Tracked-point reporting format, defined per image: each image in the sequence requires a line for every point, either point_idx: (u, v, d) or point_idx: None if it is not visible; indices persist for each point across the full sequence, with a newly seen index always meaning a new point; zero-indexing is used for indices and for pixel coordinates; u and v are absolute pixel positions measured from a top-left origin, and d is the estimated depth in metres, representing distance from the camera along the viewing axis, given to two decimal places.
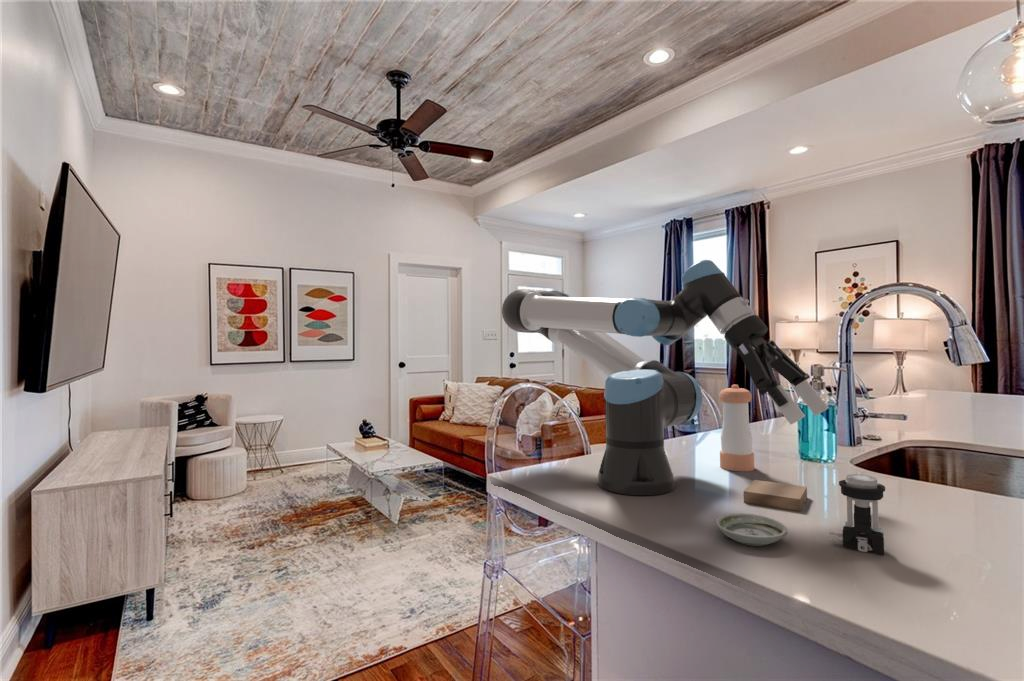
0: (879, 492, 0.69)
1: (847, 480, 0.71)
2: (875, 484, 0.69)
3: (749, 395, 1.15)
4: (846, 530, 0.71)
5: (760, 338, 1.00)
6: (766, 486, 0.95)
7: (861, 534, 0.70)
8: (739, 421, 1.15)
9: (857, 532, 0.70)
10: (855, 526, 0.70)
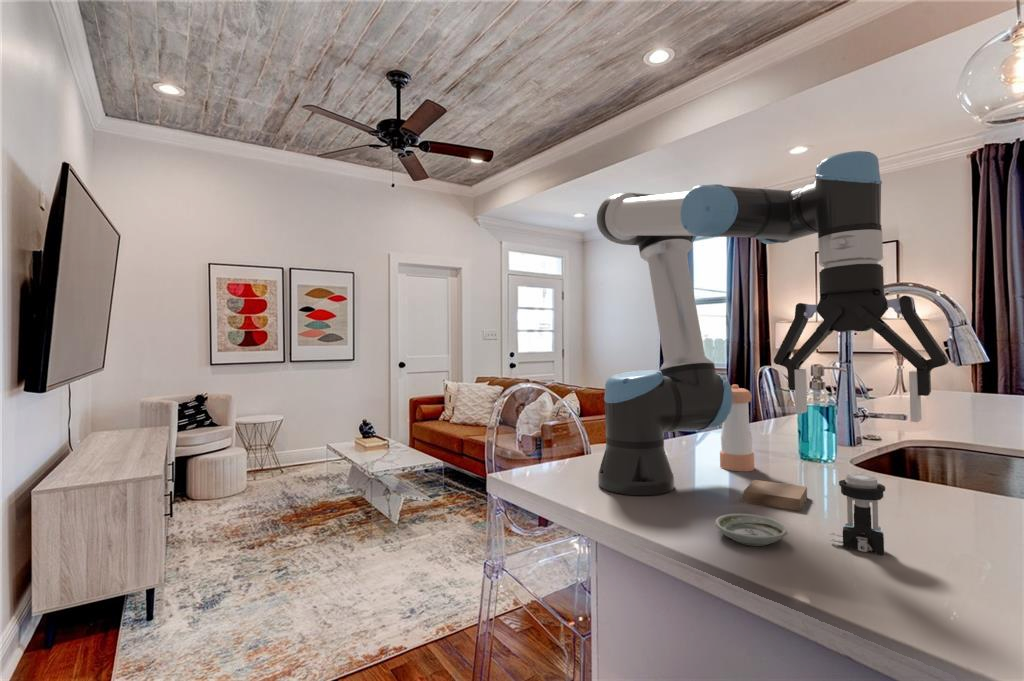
0: (879, 492, 0.69)
1: (847, 480, 0.71)
2: (875, 484, 0.69)
3: (749, 395, 1.15)
4: (846, 530, 0.71)
5: (862, 294, 0.70)
6: (766, 486, 0.95)
7: (861, 534, 0.70)
8: (739, 421, 1.15)
9: (857, 532, 0.70)
10: (855, 526, 0.70)
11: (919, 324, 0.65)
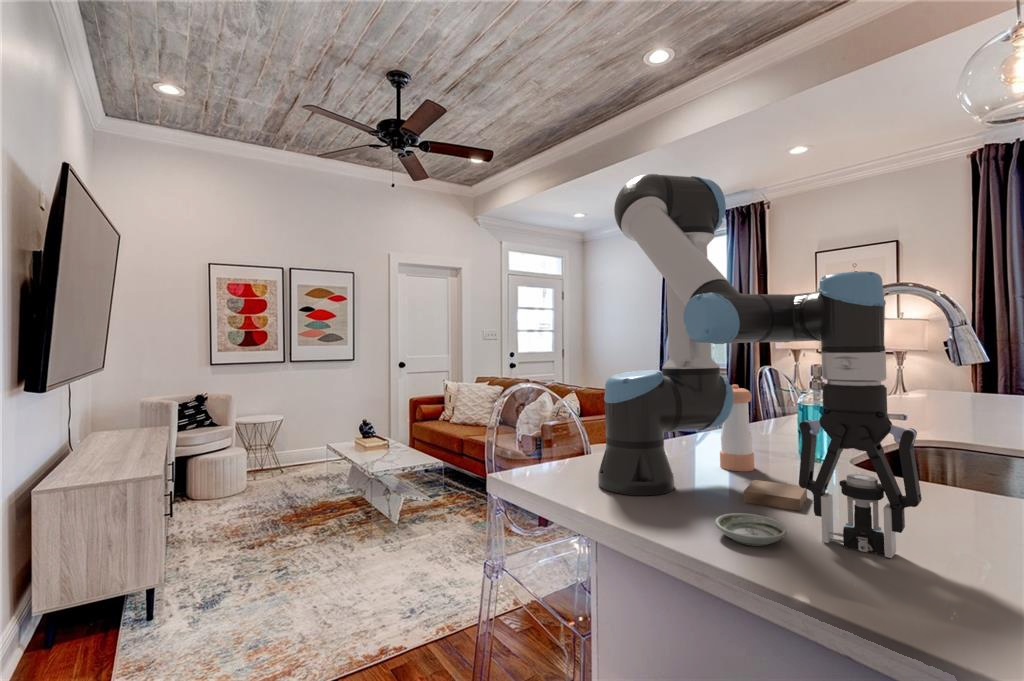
0: (879, 492, 0.69)
1: (847, 480, 0.71)
2: (876, 484, 0.69)
3: (749, 395, 1.15)
4: (846, 530, 0.71)
5: (865, 414, 0.69)
6: (766, 486, 0.95)
7: (861, 534, 0.70)
8: (739, 421, 1.15)
9: (857, 532, 0.70)
10: (856, 526, 0.70)
11: (910, 462, 0.66)
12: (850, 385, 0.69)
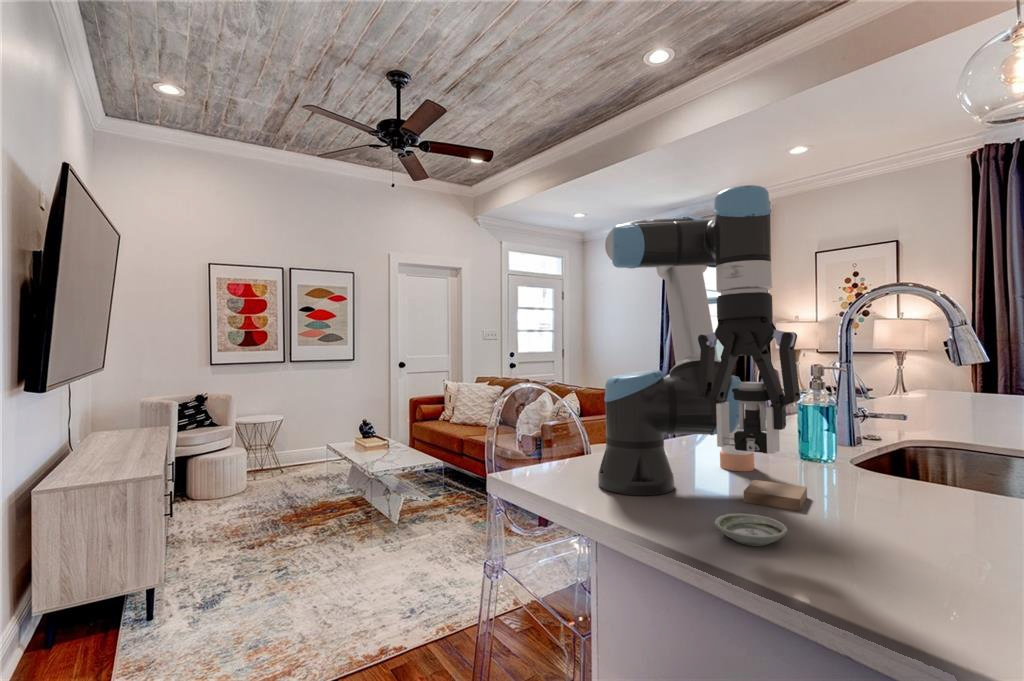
0: (764, 393, 0.72)
1: (738, 386, 0.75)
2: (762, 387, 0.73)
3: None
4: (737, 433, 0.75)
5: (752, 321, 0.73)
6: (766, 486, 0.95)
7: (750, 435, 0.74)
8: None
9: (746, 433, 0.74)
10: (745, 428, 0.74)
11: (788, 362, 0.70)
12: (737, 292, 0.73)
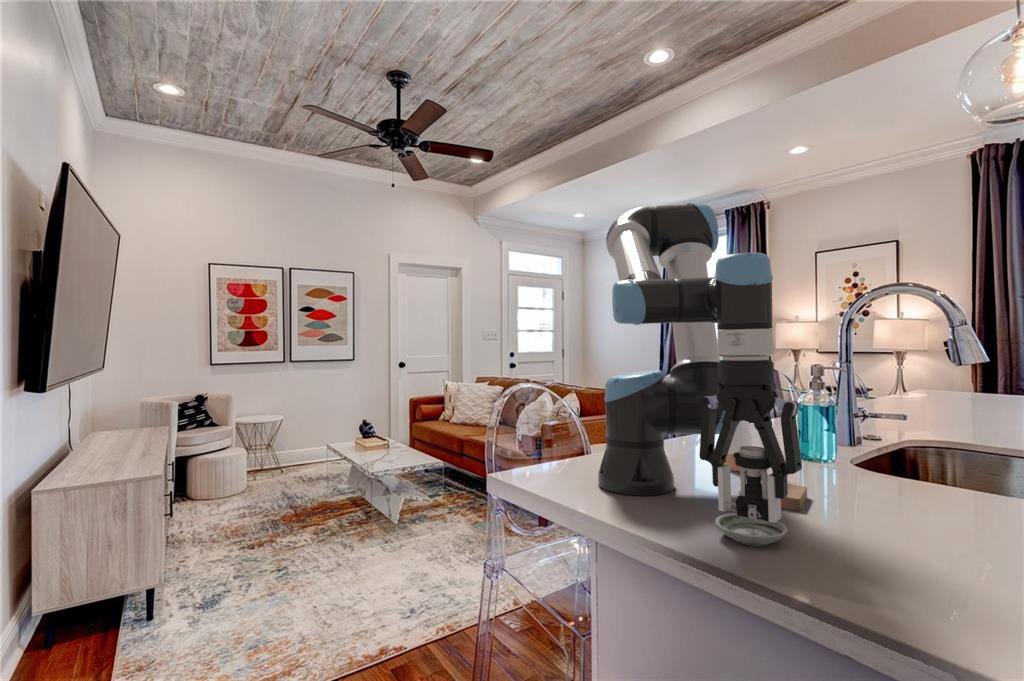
0: (766, 461, 0.72)
1: (740, 451, 0.75)
2: (764, 454, 0.73)
3: None
4: (738, 499, 0.75)
5: (754, 388, 0.73)
6: None
7: (751, 502, 0.74)
8: None
9: (748, 500, 0.74)
10: (746, 494, 0.74)
11: (790, 432, 0.70)
12: (738, 360, 0.73)
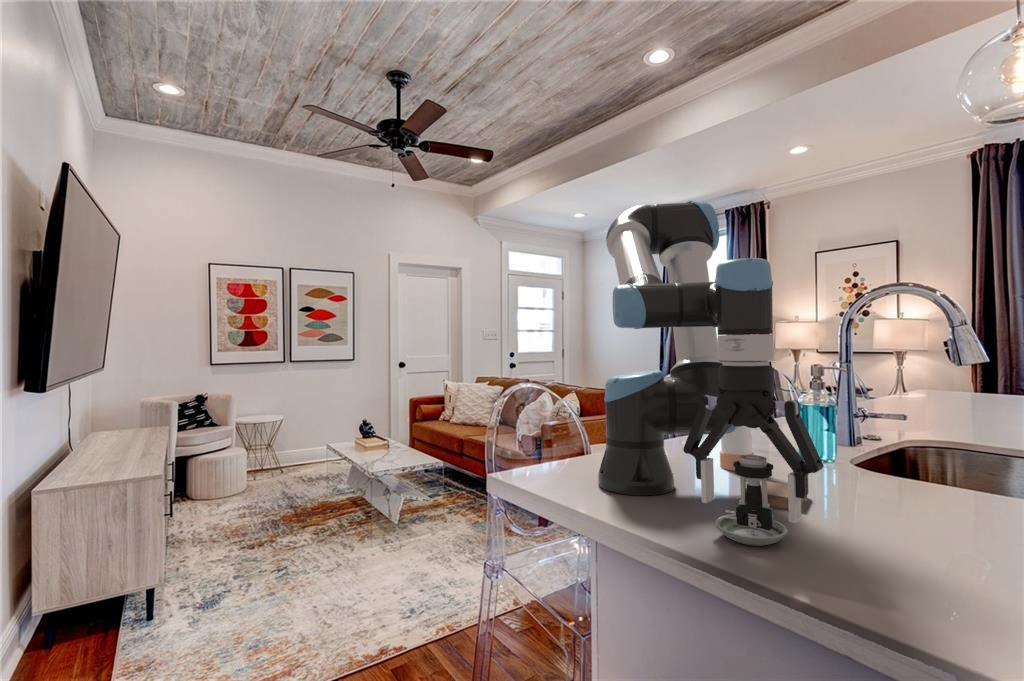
0: (766, 471, 0.73)
1: (740, 460, 0.75)
2: (763, 463, 0.73)
3: None
4: (739, 507, 0.75)
5: (754, 393, 0.73)
6: None
7: (751, 511, 0.74)
8: None
9: (748, 509, 0.74)
10: (746, 503, 0.74)
11: (799, 430, 0.69)
12: (739, 365, 0.73)
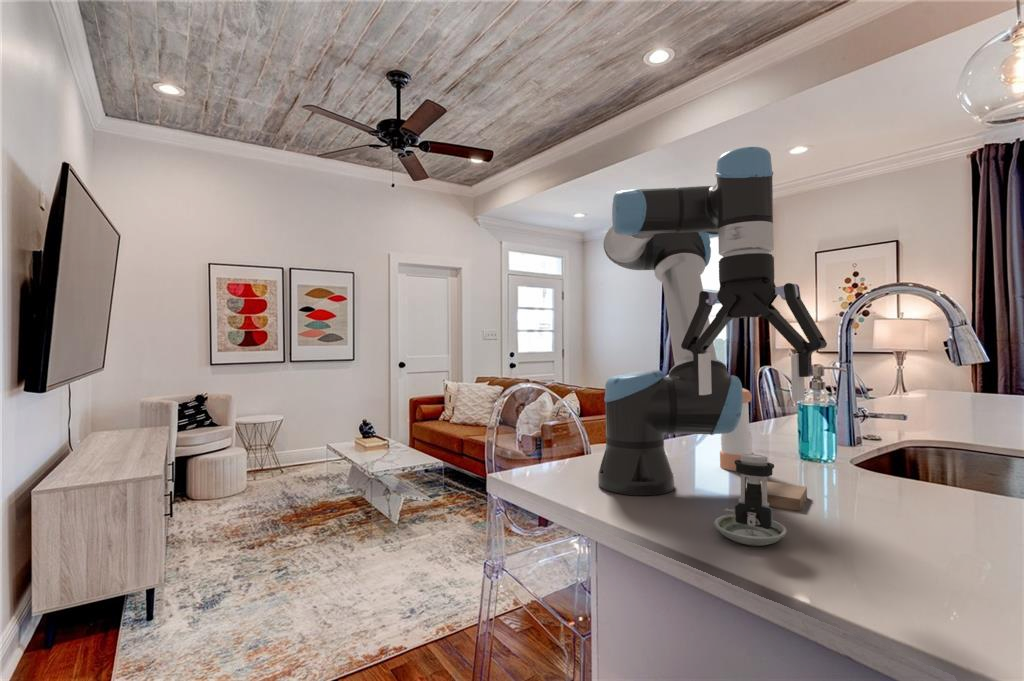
0: (767, 469, 0.73)
1: (741, 458, 0.76)
2: (764, 462, 0.74)
3: (749, 395, 1.15)
4: (738, 505, 0.75)
5: (754, 282, 0.74)
6: None
7: (751, 509, 0.74)
8: (739, 421, 1.15)
9: (747, 507, 0.75)
10: (746, 501, 0.75)
11: (800, 310, 0.69)
12: (739, 254, 0.74)
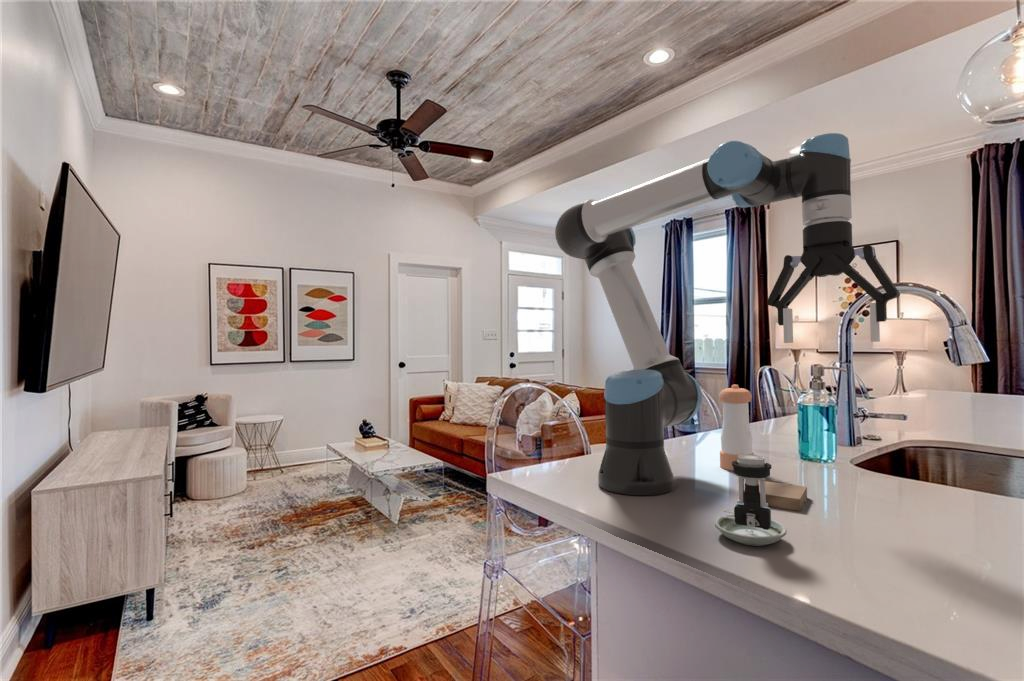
0: (764, 470, 0.73)
1: (738, 460, 0.76)
2: (762, 463, 0.74)
3: (749, 395, 1.15)
4: (737, 507, 0.75)
5: (835, 245, 0.89)
6: (766, 486, 0.95)
7: (750, 510, 0.74)
8: (739, 421, 1.15)
9: (746, 509, 0.74)
10: (745, 503, 0.74)
11: (877, 266, 0.85)
12: (823, 222, 0.89)
